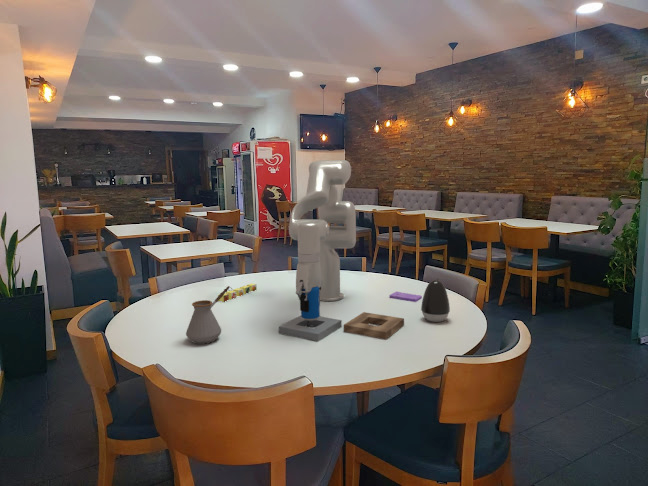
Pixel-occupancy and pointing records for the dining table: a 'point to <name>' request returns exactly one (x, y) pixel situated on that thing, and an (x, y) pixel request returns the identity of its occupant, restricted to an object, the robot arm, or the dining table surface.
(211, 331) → the coffee pot
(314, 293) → the beverage can
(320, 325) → the socket
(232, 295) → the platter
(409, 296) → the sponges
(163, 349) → the dining table surface
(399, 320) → the socket
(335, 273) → the robot arm
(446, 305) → the black rounded egg shape
